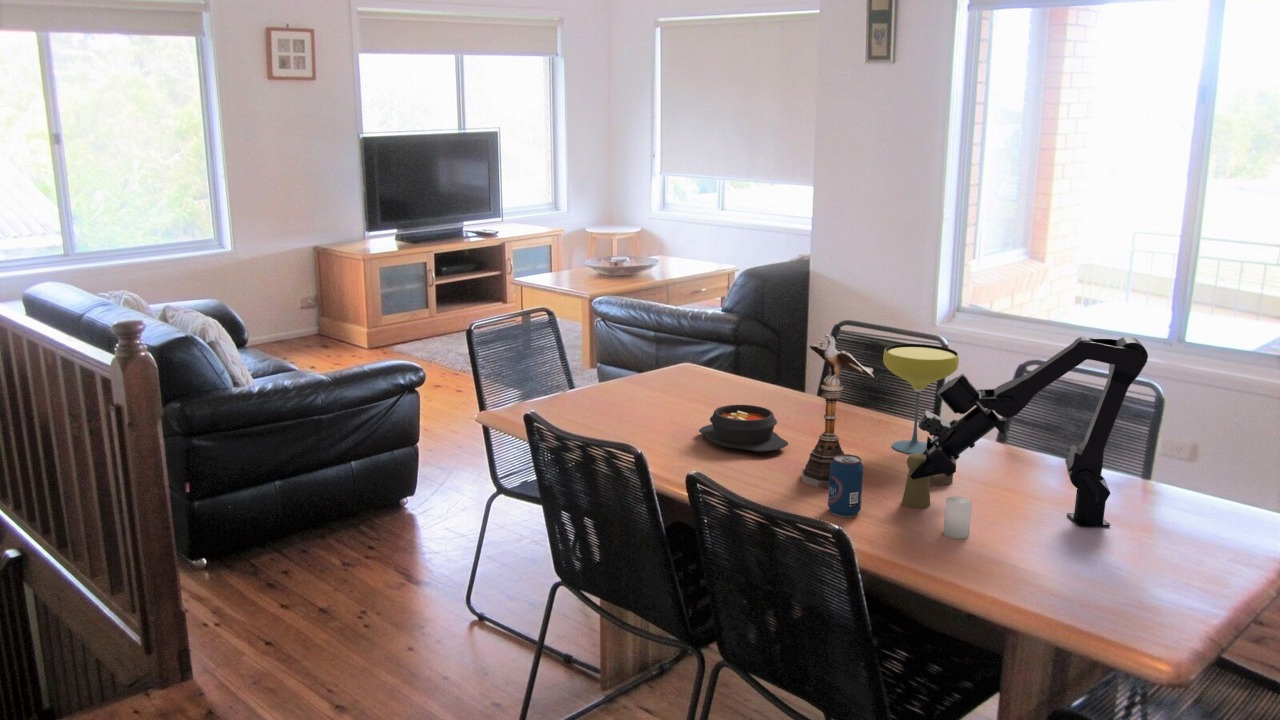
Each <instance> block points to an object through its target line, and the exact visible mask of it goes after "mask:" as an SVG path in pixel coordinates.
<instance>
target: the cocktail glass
mask: <svg viewBox="0 0 1280 720" xmlns="http://www.w3.org/2000/svg"><path fill="white" fill-rule="evenodd" d="M959 357H960V356H959V353H958V352H957V351H956V350H953V349H951V348H948V347H944V346H939V345H933V344H924V343H923V344H922V343H921V344H920V343H902V344H901V343H899V344H894V345H893V344H892V345H889V346H887V347H885V348H884V350H883V357H882V358H883V365H884V366H885V367H886V368H887V370H888V371H889V372H890V373H892V374H894V375H895V376H897V377H899V378H901V379H902V380H904V381H906V382H907V383H908V384H910V386H911V387H912V389H913V390H914V392H915V391H916V402H915V413H914V414H915V415H914V424H913V432H912V436H911V439H909V440H908V439H907V440H899V441H895V442H892V444H891V447H892V448H893V449H894V450H895V451H897V452H899V453H903V454H907V455H911V454H914V453H921V454H922V453H923V451H924V450H925V449H926V446H927V441H920V440H918V417H919V416H918V415H919V402H920V392H922V391H924V389H926V388H927V386H928V385H930V384H933V383H935V382H937V381H939V380H940V381H941V380H942V379H945V378H947V377H949V376H951V375H952V374H953V373H955V372H956V371H957V370H958V367H959V363H960V358H959Z"/></svg>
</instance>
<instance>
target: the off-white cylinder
mask: <svg viewBox="0 0 1280 720" xmlns="http://www.w3.org/2000/svg"><path fill="white" fill-rule="evenodd" d="M972 507H973V502H972V500H971V499H969V498H966V497H961V496H951V497H950V496H949V497H947V498H946V499H945V507H944V508H945V509H944V510H945V511H944V518H943V532H942V533H943V535H944V536H946V537H948V538H952V539H957V540H963V539H964V540H965V539H967V538H969V537H970V530H971V518H972Z"/></svg>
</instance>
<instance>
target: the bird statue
mask: <svg viewBox="0 0 1280 720" xmlns="http://www.w3.org/2000/svg"><path fill="white" fill-rule="evenodd" d="M824 339H825V340H827V342H828V343H827V347H826V348H825V347H823V344H825V343H826V342H825V341H824ZM817 343H818V344H819V345H818V344H810V345H809V349H811V350H812V351H814V353H815V354H817V355H818V356H819V357H820V358H822V360H824V361H825V362H826V363H827V370H828V373H829V374H827V375H826V377H824V379H823V383H822V384H821V385H820V387H819V388H820V389H821V397H822V398H823V399H825V414H824V415H823V418H824V421H825V423H824V424H825V427H824V428H825V429H824V431H823V433H821V434H820V435H819V439H818V441H817V443H816V445H815V446H814V448H813V449H812V450H811V453H809V458H808V460H807V462H806V464H805V468H802V469H801V482H802V483H804V484H807V485H810V486H813V487H815V488H818V489H829V477H830V464H831V463H832V461H833V458H834V456H836V455H840V454H845V451H844V450H843V449H842V447H841V444H840V441H839V440H840V438H839V436H838V435H837V434H836V432H835V424H836V423H835V421H836V419H837V416H836V407H837V406H836V405H837V402H838V400H839V399H841V398H842V391H843V390H844V386H843V385H841V381H840V375H841V373H842V369H844V370H847V371H848V370H849V371H851V372H853V371H854V372H857V373H861V374H864V373H865V372H866V373H867V374H869V376H870V377H872V378H873V379H875V376H874V374H873V373H874V369H873V368H872V367H867V366H864V365H862V364H860V363H859V362H858V361H857V360H856V359H855V357H854V356H853V355H852V354H851V353H850V352H848V351H844V350H841V351H839V350H837V348H836V339H835V337H834V336H833V335H831V334H828V333H826V334H825V335H824V337H821V340H820V341H817Z"/></svg>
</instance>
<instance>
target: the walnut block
mask: <svg viewBox="0 0 1280 720" xmlns="http://www.w3.org/2000/svg"><path fill="white" fill-rule="evenodd" d="M953 478H954V474H952V475H951V476H950V477H948V476H946V475H945V474H937V475H932V476H929V485H932V486H943V485H948V484H953V480H954V479H953Z"/></svg>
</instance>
